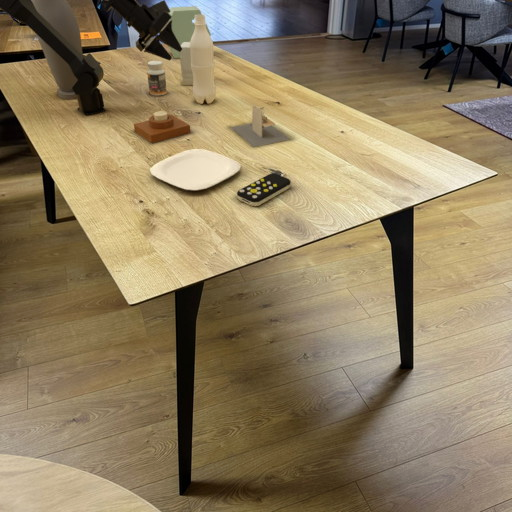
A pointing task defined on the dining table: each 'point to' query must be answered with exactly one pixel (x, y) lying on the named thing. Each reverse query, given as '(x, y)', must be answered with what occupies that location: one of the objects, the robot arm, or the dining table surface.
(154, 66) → the pill bottle
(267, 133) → the architectural model
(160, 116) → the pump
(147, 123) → the base
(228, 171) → the plate
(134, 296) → the dining table surface
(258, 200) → the remote control
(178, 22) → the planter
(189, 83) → the light grey tall block
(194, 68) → the water bottle
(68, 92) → the vase
